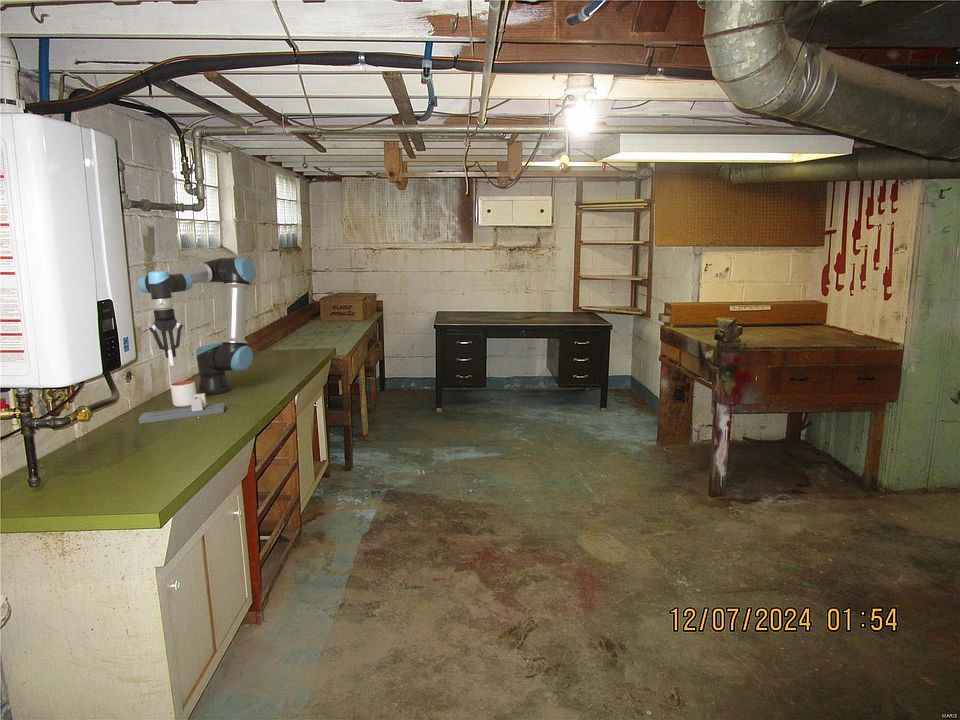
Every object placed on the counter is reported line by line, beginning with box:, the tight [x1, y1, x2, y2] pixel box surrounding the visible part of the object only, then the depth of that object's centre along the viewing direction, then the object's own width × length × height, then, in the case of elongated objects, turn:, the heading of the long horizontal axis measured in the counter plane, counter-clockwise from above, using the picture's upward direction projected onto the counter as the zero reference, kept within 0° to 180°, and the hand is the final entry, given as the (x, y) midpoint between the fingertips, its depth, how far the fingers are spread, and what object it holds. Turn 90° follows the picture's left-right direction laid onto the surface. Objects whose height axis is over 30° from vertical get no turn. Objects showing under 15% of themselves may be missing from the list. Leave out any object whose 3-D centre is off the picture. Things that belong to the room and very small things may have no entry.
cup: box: [170, 380, 197, 408], centre depth 285 cm, size 10×10×10 cm
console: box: [138, 402, 226, 425], centre depth 268 cm, size 10×32×2 cm, turn 109°
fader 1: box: [194, 393, 207, 407], centre depth 272 cm, size 4×4×5 cm
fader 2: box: [190, 397, 203, 412], centre depth 266 cm, size 4×4×5 cm
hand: (172, 364), depth 266 cm, fingers closed
